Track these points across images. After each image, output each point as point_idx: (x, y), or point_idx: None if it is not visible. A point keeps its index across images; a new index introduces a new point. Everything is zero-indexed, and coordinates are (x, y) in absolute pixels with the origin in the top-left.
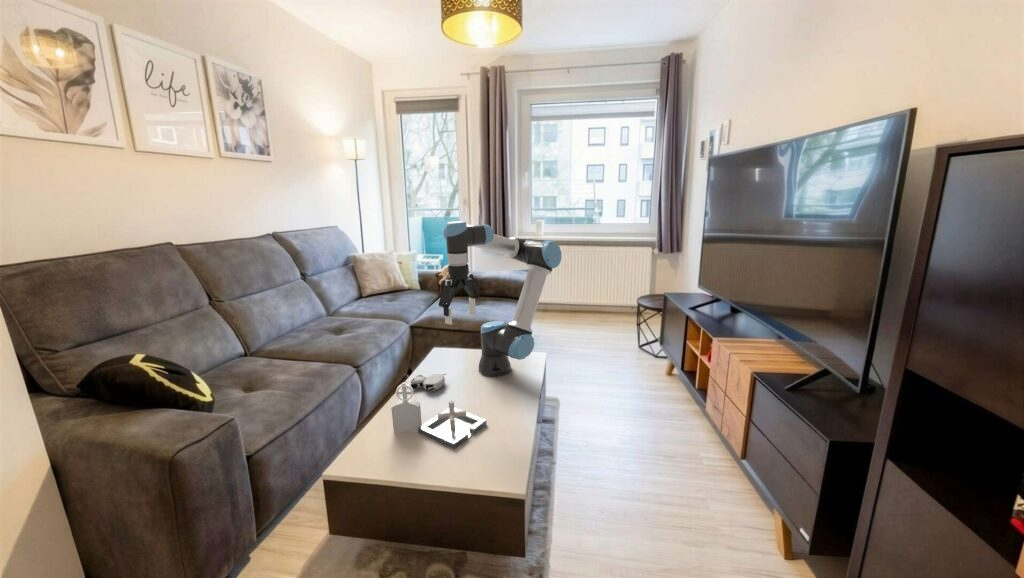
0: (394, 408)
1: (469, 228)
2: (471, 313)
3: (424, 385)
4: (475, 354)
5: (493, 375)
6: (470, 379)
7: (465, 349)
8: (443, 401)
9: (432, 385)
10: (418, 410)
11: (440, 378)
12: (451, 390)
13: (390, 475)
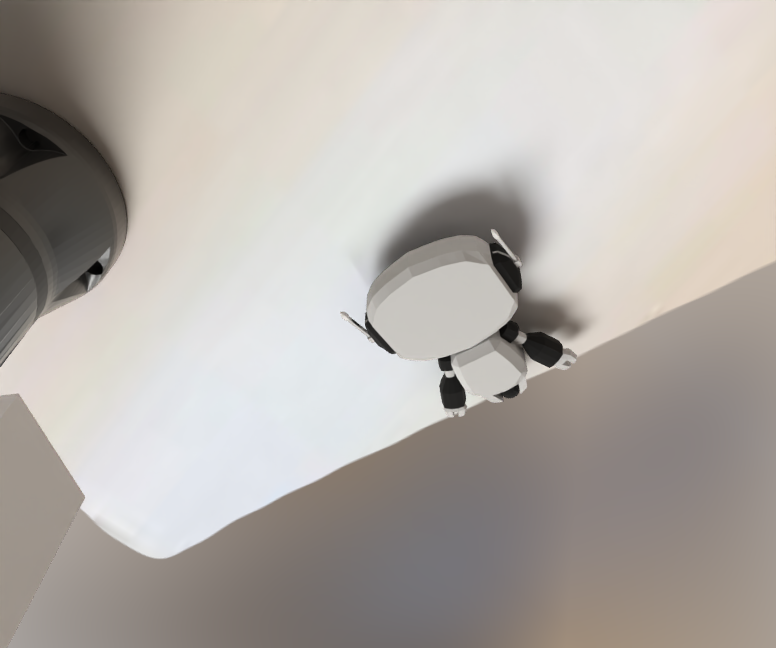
0: None
1: None
2: (50, 475)
3: (517, 300)
4: (32, 414)
5: (72, 131)
6: (222, 208)
7: None
8: (520, 109)
9: (498, 260)
10: None
11: (414, 287)
12: (395, 184)
13: None
